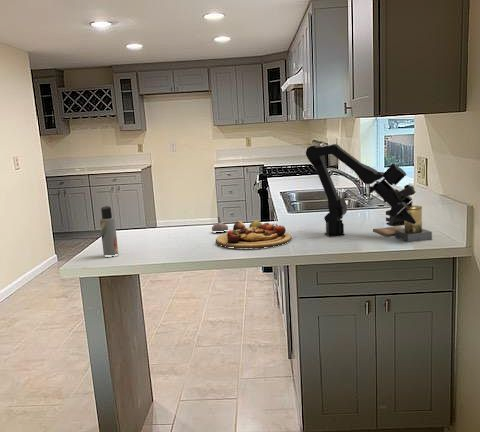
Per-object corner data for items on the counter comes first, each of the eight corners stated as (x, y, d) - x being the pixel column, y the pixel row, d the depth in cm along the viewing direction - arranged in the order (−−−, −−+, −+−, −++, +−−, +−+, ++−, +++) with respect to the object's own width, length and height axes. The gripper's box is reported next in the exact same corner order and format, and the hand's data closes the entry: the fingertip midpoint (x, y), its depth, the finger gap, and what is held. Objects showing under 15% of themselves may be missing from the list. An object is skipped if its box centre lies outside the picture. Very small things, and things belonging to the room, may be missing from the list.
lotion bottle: (119, 253, 200) (114, 205, 197) (116, 257, 195) (111, 207, 191) (105, 254, 200) (100, 206, 197) (102, 258, 195) (96, 208, 191)
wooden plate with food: (243, 255, 186) (242, 233, 185) (202, 241, 212) (201, 222, 211) (307, 242, 203) (307, 222, 202) (262, 231, 229) (262, 213, 228)
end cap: (394, 226, 218) (394, 211, 217) (385, 224, 225) (384, 209, 224) (413, 224, 221) (413, 209, 220) (403, 221, 228) (403, 207, 226)
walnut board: (386, 236, 199) (385, 234, 199) (372, 231, 211) (372, 228, 211) (413, 233, 202) (413, 231, 201) (398, 228, 213) (398, 226, 213)
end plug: (409, 240, 190) (409, 208, 188) (401, 237, 197) (401, 206, 195) (425, 239, 191) (425, 207, 189) (416, 235, 198) (416, 205, 196)
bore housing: (408, 242, 188) (407, 234, 188) (395, 236, 198) (395, 229, 198) (431, 239, 190) (431, 231, 190) (418, 234, 200) (418, 227, 199)
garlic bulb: (210, 234, 227) (209, 217, 226) (214, 231, 234) (213, 214, 233) (226, 234, 225) (224, 217, 224) (230, 231, 232) (229, 214, 231)
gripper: (397, 181, 184) (429, 211, 181) (406, 176, 200) (435, 203, 197) (376, 202, 189) (406, 231, 186) (387, 195, 205) (414, 222, 202)
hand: (416, 221), depth 192 cm, fingers open, 8 cm apart
